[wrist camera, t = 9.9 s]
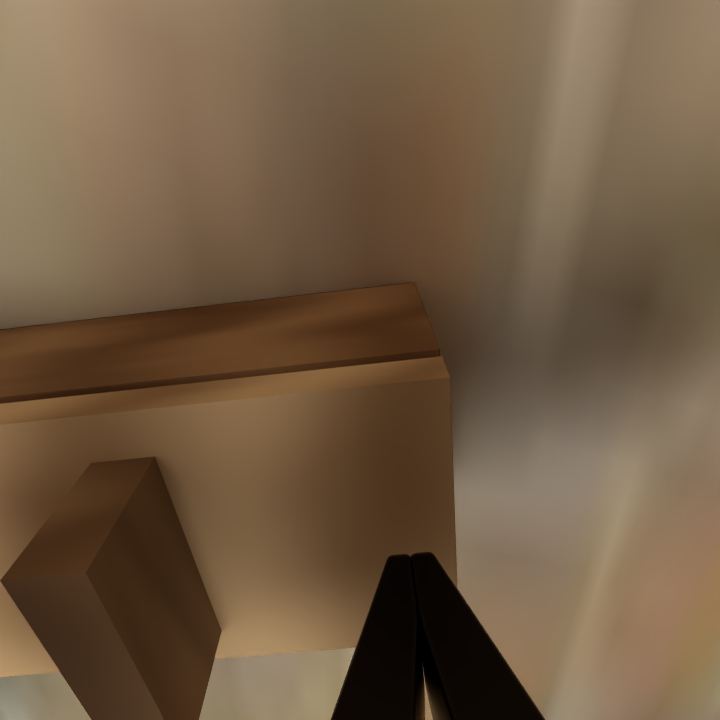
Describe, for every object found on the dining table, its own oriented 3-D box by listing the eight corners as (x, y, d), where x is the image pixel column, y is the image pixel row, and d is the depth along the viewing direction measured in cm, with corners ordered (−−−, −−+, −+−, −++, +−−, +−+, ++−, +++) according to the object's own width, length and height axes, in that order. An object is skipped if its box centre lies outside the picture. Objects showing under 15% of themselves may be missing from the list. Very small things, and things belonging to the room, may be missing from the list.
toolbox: (414, 282, 13) (439, 349, 9) (431, 546, 17) (453, 665, 13) (-350, 369, 14) (-618, 463, 10) (-147, 599, 18) (-279, 724, 14)
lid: (442, 356, 9) (487, 476, 6) (453, 622, 12) (485, 784, 9) (-410, 448, 9) (-760, 597, 6) (-174, 676, 13) (-333, 843, 10)
